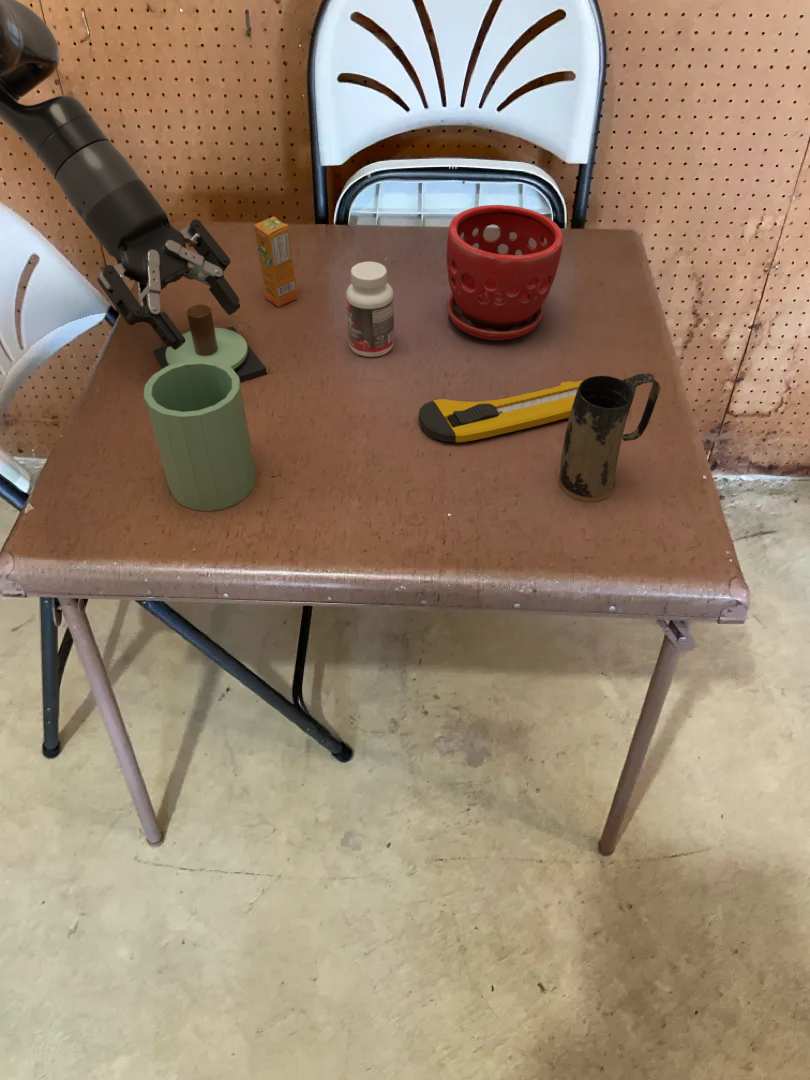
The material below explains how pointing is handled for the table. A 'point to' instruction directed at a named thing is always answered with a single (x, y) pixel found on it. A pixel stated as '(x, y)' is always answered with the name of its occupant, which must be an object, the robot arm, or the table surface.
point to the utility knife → (496, 414)
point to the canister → (201, 433)
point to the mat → (244, 371)
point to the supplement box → (276, 261)
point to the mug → (600, 434)
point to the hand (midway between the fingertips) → (208, 328)
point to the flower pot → (500, 271)
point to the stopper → (208, 341)
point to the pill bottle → (370, 310)
